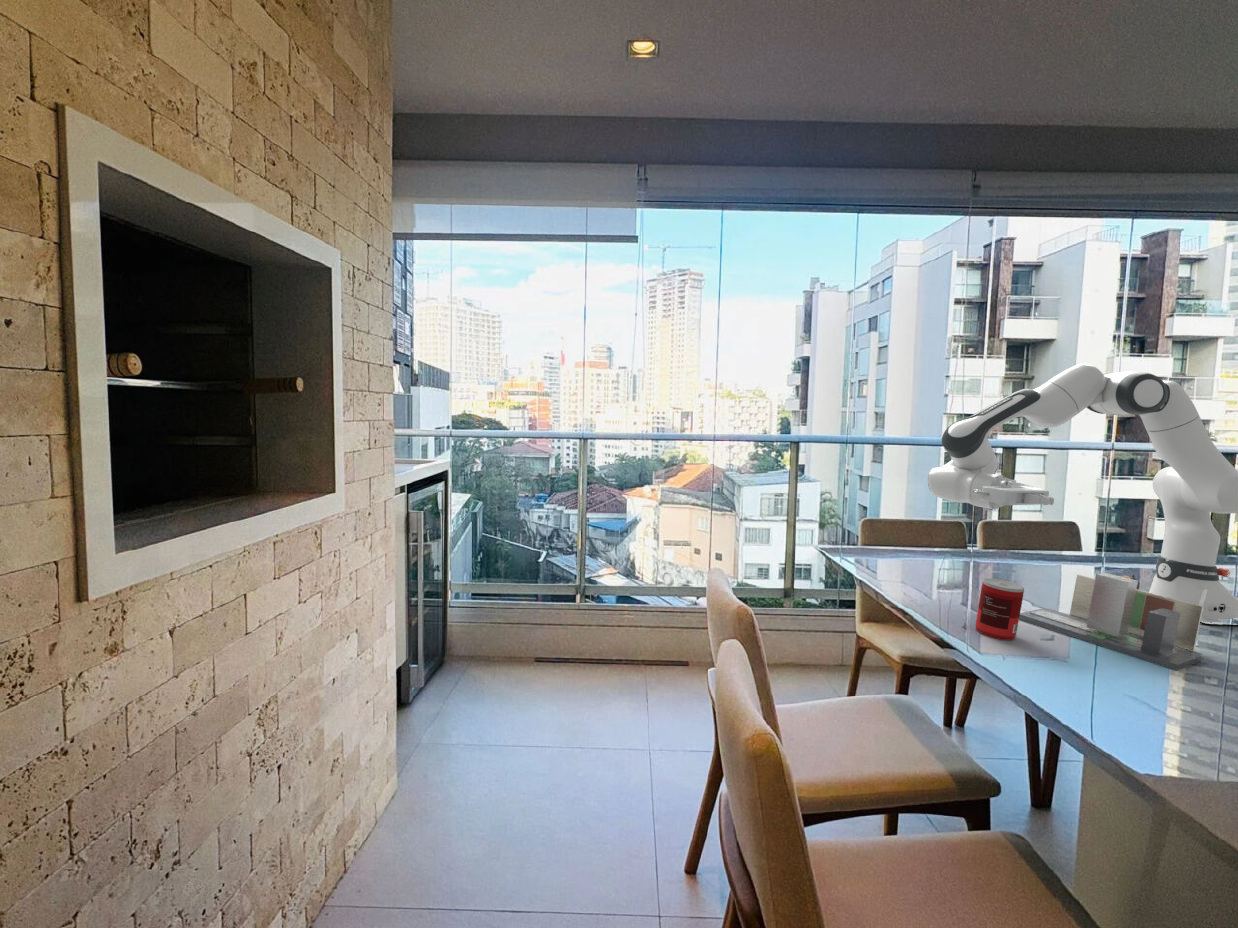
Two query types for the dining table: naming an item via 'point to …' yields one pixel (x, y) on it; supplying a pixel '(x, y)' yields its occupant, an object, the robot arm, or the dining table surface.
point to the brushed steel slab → (1112, 604)
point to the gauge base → (1132, 626)
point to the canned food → (999, 608)
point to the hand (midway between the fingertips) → (1051, 501)
